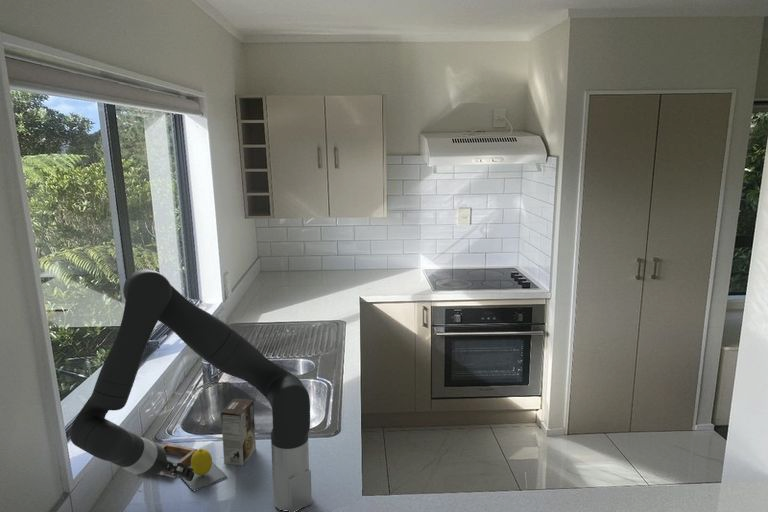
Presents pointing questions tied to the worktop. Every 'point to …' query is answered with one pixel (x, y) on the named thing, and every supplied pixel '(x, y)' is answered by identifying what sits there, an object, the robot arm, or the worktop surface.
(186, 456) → the holder
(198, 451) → the lemon
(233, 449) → the coffee box
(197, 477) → the mat
